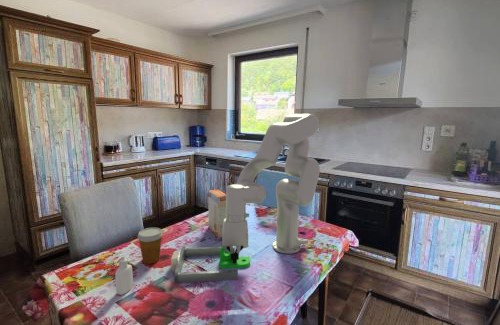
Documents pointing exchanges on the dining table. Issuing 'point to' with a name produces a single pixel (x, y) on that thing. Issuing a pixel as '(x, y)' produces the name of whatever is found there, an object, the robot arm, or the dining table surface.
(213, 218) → the cracker box
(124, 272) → the eye dropper bottle
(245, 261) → the mechanical part
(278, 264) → the dining table surface
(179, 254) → the drawer frame
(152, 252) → the disposable coffee cup
